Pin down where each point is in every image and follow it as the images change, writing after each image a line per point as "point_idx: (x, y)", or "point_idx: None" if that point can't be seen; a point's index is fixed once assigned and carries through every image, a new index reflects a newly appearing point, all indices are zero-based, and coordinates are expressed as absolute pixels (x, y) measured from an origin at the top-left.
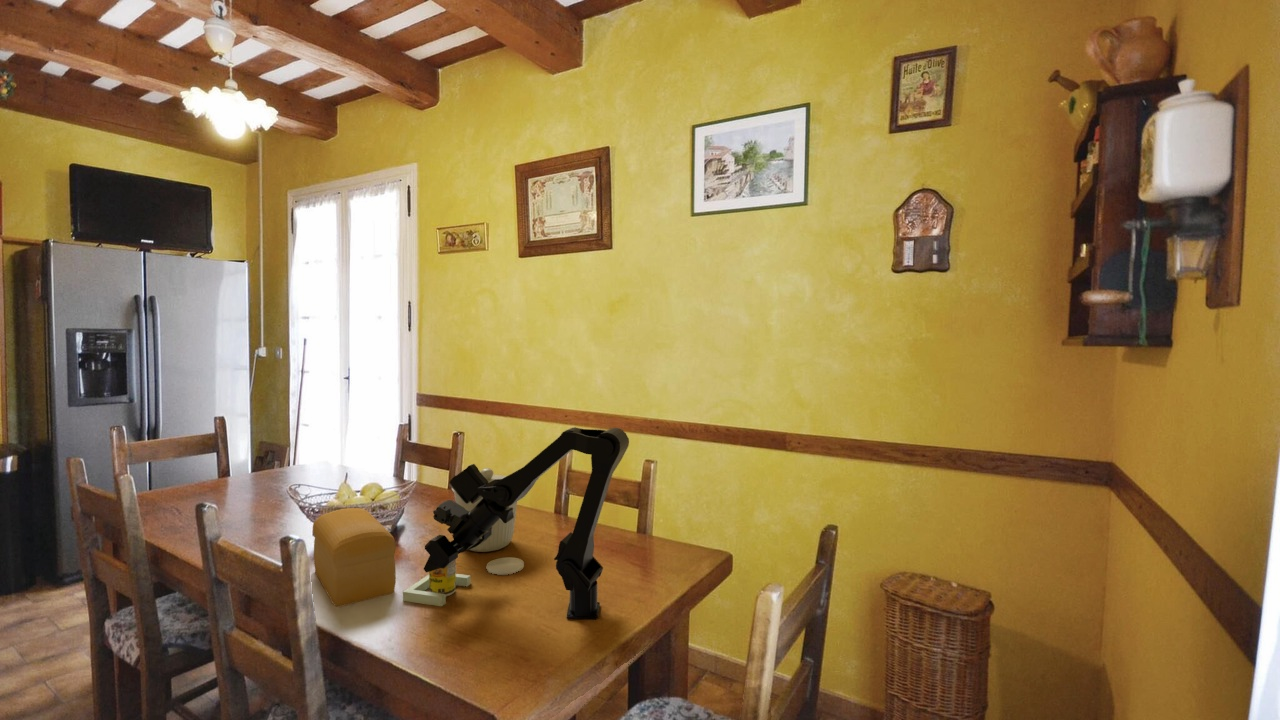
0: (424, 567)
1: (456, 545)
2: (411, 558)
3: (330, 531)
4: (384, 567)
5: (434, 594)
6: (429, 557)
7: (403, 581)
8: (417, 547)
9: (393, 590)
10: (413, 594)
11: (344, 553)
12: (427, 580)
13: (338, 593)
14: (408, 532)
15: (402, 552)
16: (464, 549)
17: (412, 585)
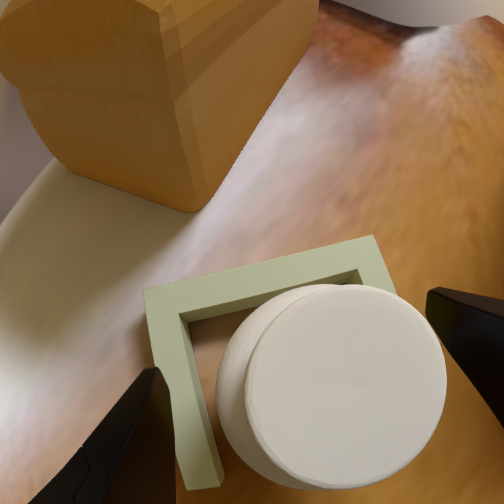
0: (135, 382)
1: (502, 347)
2: (391, 94)
3: None
4: (135, 134)
5: (189, 443)
6: (64, 472)
7: (279, 174)
8: (428, 75)
9: (194, 209)
10: (152, 345)
11: (5, 52)
12: (290, 287)
13: (48, 147)
14: (436, 38)
15: (389, 65)
16: (502, 413)
17: (209, 274)
